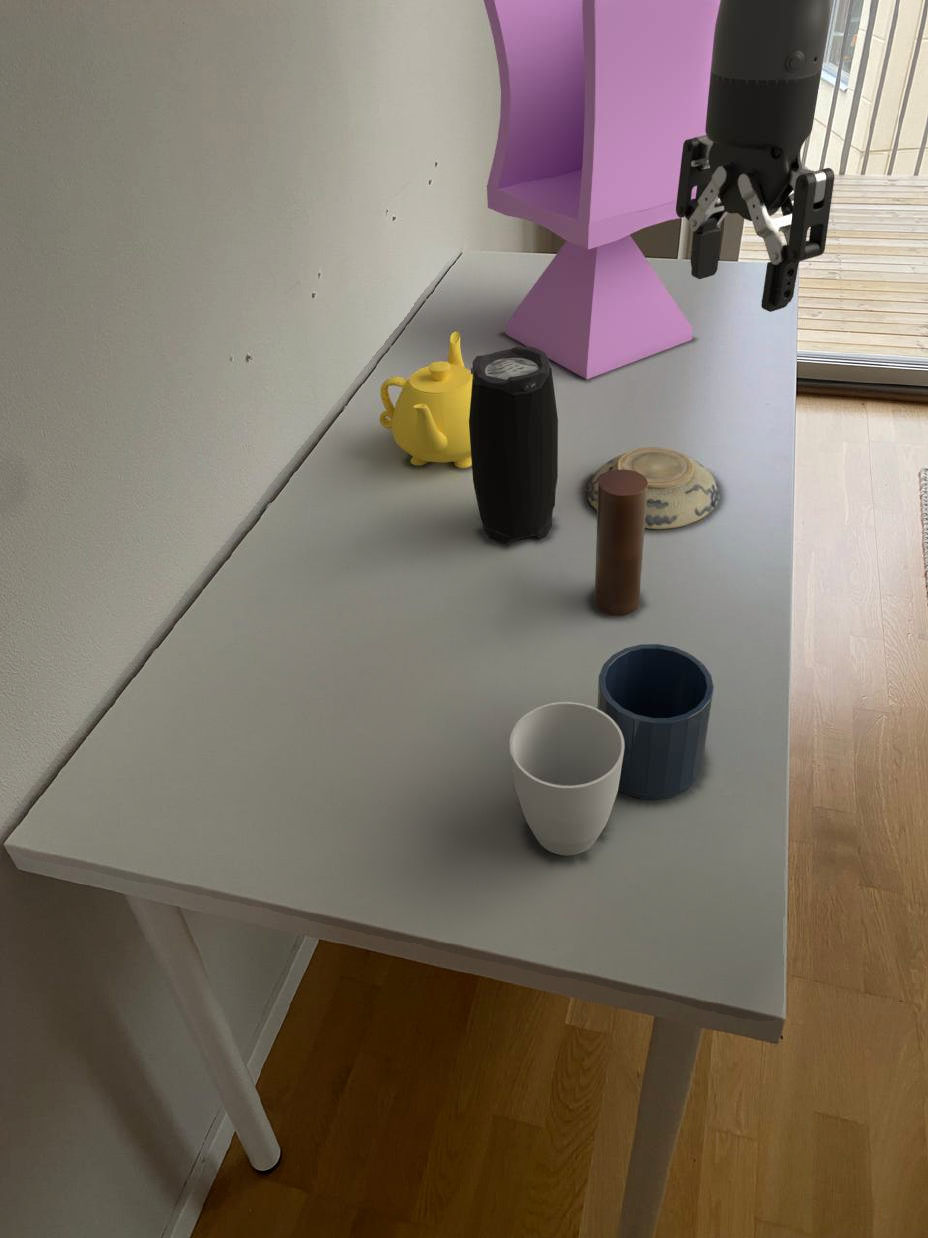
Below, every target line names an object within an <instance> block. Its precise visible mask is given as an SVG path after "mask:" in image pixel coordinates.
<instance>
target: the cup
mask: <svg viewBox="0 0 928 1238" xmlns="http://www.w3.org/2000/svg"><path fill="white" fill-rule="evenodd" d="M509 750H510V751H509V752H510V759H511V765H512V772H513V779H514V780H513V781H514V786H515V791H516V795H517V796H518V800H519V803H520V806H521V809H522V813H523V816H524V819H525V821H526V824H527V825H528V826H529V829H530V830H531V832H532V833H533V835H534V837H535V838H536V841H538V844H540V846H542V847H543V848H544V849H545V850H547V851H548V852H550V853H553V854H556V855H560V856H576V855H579V854H582V853H585V852H587V851H588V850H589V849H590V848H592V847H593V845H595V843H596V842H597V840H598V838H599V837H600V835H601V833H602V832H603V830H604V829H605V827H606V826H607V824H608V821H609V818H610V816H611V813H612V810H613V806H614V803H615V801H616V798H617V795H618V791H619V790H618V787H619V781H620V774H621V768H622V761H623V755H624V738H623V735H622V732H621V730H620V728H619V727H618V725H617V724H616V723H615V721H614V720H613V719H612V718H610V717H609V716H608V715H607V714H605V713H604V712H602V711H600V710H599V709H598V707H597V708H596V707H594V706H592V705H588V704H586V703H581V702H575V701H558V702H557V701H556V702H551V703H547V704H544V705H540V706H537V707H535V708H533V709H532V710H530V711H528V712H527V713H526V714H524V715H523V716H522V717H521V718H520V719H519V720H518V721H517V722H516V724H515V725H514V727H513V729H512V731H511V734H510V737H509Z"/></svg>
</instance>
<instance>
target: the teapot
mask: <svg viewBox="0 0 928 1238" xmlns="http://www.w3.org/2000/svg"><path fill="white" fill-rule="evenodd" d="M448 342H449V343H448V351H447V359H446V361H442V360H441V361H440V360H439V361H434V362H432V363H430V364H429V365H426V366H424V367H421V368H419V369H418V370H416V371H414V372H413V373H412V374H411V375H410V376H409V377H408V379H406V378H404V377H401V376H392V377H389V378H387V379H385V381H383V383H381V386H380V389H379V390H380V400H381V402H382V404H383V407H384V411H382V412H381V413H380V415H379V423H380V425H381V427H384V428H386V429H388V430H391V431H392V437H393V439H394V441H395V443H396V444H397V445H398V446H399V447H400V448H401V449H402V450H403V451H404V452H405V453H408V454H409V455H410V456H412V457H411V458H410V464H412V465H414V466H423V465H426V464H428V463H430V462H431V463H451V462H453V463H454V466H455V467H456V468H459V469H466V468H469V467H472V460H471V446H470V431H469V414H470V402H471V391H472V379H473V374H471V370H470V369H468V368H466V367H465V364H464V359H463V357H462V350H461V334H460V332H459V331H454V332H452V333H451V335H450V338H449V341H448ZM390 386H396V387H400V388H402V389H401V391H400V393H399V395H398V397H397V400H396V402H395V405H394V404H393V402H392V399H391V396H390V393H389V387H390ZM387 417H388V418H387Z"/></svg>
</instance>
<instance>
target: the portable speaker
mask: <svg viewBox="0 0 928 1238" xmlns="http://www.w3.org/2000/svg"><path fill="white" fill-rule="evenodd" d="M471 363H472V364H471V365H472V366H471V367H470V372H471V374H473V379H472V391H471V402H470V414H469V431H470V446H471V460H472V465H471V472H472V483H473V489H474V494H475V499H476V503H477V509H478V513H479V520H480V521H481V525H482V529H483V532H484V533H485V534H486V536H487V537H488V539H489V540H492V541H494V542H497V543H499V544H502V545H508V544H509V543H511V542H512V541H513V540H514V541H515V540H518V539H525V538H529V537H534V536H537V537H538V538H539V539H542V538H545V537H547V535H548V534H549V532H550V531H551V529H552V527H553V526H552V525H553V512H554V508H555V507H556V495H557V494H556V493H557V483H558V475H559V474H558V473H559V472H558V471H559V470H558V469H559V465H558V463H559V458H558V455H559V452H558V451H559V417H558V409H557V402H556V392H555V385H554V378H553V377H554V376H553V369H552V367H551V362H550V359H549V358H548V357H547V355H546V354H545V352H543V351H541V350H539V349H537V348H535V347H528V346H526V345H524V346H523V345H516V346H513V347H511V348H507V349H503V350H499V351H495V352H491V353H488V354H484V355H476V356H475V358H474V359H473V360H472V362H471Z"/></svg>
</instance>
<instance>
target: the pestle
mask: <svg viewBox="0 0 928 1238" xmlns="http://www.w3.org/2000/svg"><path fill="white" fill-rule="evenodd" d="M647 488H648V481H647V479H646V478H645V476H643V475H642V474H640V473H638V472H636V471H632V470H625V469H620V470H613V471H609V472H607V473H605V474H604V475H602V476H601V477H600V479H599V482H598V510H596V512H597V514H596V545H595V569H594V572H595V573H594V574H595V575H594V598H593V599H594V600H593V601H594V605H595V607H596V608H597V609H598V610H599V611H600V612H601V613H604V614H606V615H610V616H616V617H617V616H626V615H629V614H631V613H633V612H635V611H636V610H637V609H638V607H639V605H640V596H641V595H640V594H641V581H642V568H643V567H642V566H643V554H644V542H645V541H644V540H645V530H646V528H645V515H646V502H647Z"/></svg>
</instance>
